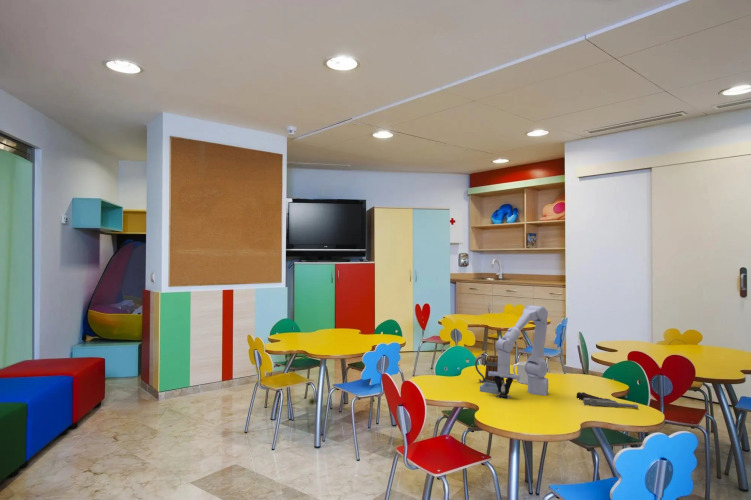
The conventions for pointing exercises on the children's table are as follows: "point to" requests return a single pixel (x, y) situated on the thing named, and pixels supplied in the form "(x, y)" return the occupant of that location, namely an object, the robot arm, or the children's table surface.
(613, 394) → the children's table surface
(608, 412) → the children's table surface
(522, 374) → the mug
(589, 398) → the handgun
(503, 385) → the strut
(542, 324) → the robot arm
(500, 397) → the grey metal square plate
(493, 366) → the mug
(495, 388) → the bin
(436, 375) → the children's table surface
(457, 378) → the children's table surface
